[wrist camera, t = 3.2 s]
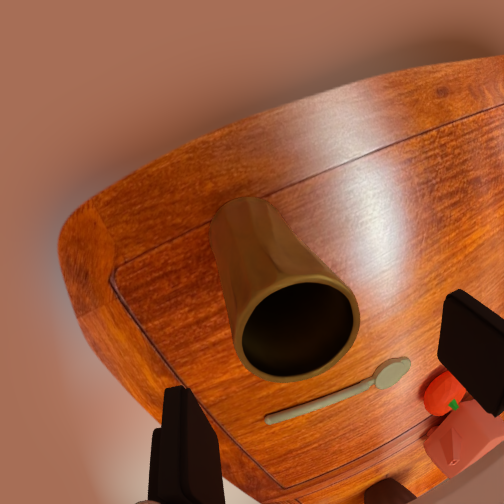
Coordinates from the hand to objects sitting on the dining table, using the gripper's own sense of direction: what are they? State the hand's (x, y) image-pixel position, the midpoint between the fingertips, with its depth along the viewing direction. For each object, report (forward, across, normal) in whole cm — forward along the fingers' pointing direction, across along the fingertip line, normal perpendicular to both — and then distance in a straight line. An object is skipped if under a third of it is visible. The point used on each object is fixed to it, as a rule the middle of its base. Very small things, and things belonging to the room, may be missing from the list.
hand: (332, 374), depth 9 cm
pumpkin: (+17, -21, +30) cm, 41 cm away
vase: (+17, +1, 0) cm, 17 cm away
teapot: (+18, -28, +46) cm, 57 cm away
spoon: (+17, -5, +22) cm, 28 cm away
